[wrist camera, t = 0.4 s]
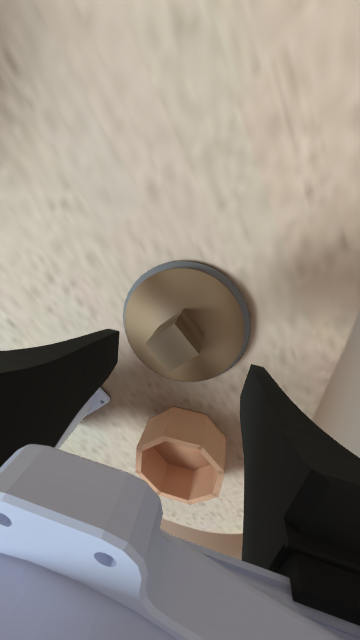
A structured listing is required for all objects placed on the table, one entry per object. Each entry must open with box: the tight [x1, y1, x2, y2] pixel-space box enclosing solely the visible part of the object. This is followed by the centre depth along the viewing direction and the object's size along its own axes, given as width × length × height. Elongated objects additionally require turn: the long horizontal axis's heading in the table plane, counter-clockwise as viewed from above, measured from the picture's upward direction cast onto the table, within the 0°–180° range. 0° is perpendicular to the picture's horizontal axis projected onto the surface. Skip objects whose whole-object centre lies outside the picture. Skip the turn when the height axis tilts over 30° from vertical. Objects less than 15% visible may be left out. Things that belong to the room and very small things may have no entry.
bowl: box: [135, 406, 226, 504], centre depth 25 cm, size 9×9×4 cm
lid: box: [124, 267, 244, 382], centre depth 19 cm, size 11×11×4 cm
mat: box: [123, 261, 250, 378], centre depth 22 cm, size 12×12×1 cm
